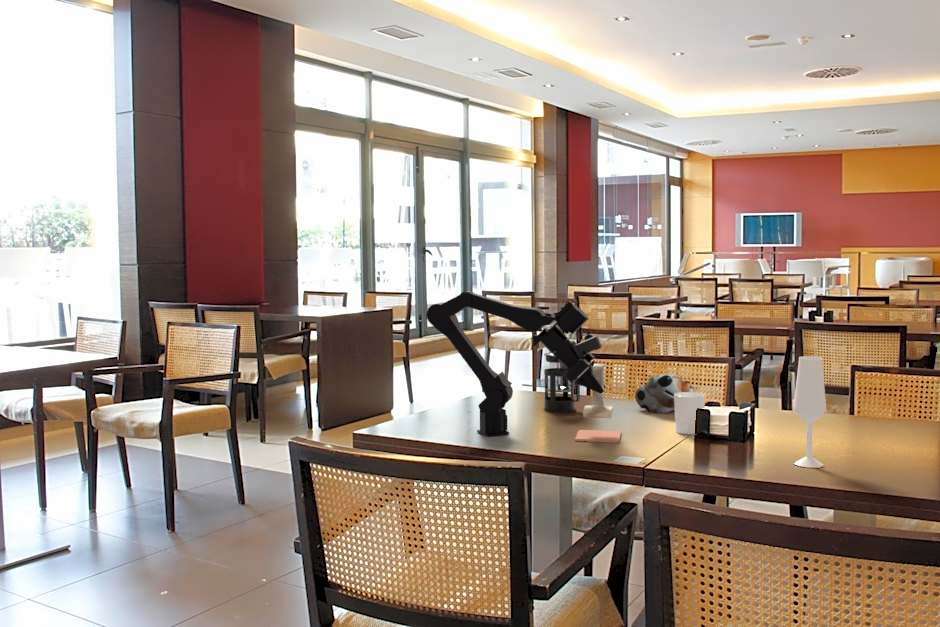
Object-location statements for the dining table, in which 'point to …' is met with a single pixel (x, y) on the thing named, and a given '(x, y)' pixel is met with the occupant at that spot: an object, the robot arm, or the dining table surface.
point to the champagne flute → (809, 400)
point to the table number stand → (598, 397)
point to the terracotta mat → (598, 436)
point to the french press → (558, 389)
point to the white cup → (687, 410)
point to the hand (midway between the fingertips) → (603, 390)
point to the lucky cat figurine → (661, 393)
